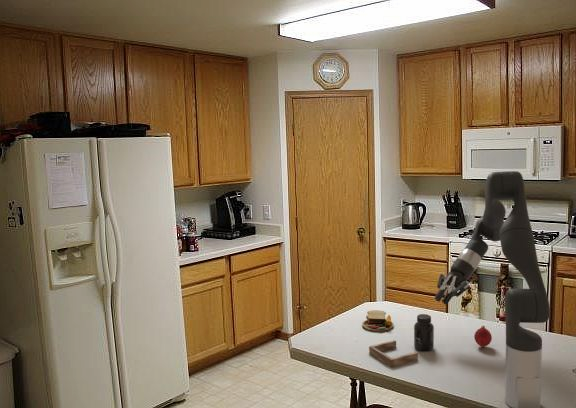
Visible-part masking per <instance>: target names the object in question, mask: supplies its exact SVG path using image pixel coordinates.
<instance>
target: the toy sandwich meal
mask: <svg viewBox="0 0 576 408" xmlns="http://www.w3.org/2000/svg"><path fill="white" fill-rule="evenodd" d="M386 313H387V312H386V311H383V310H374V309H373V310H372V309H371V310H367V313H366V314H367V315H366V317H365V319H366V320H364V321H363V322H362V323H361V325H362V327H363V328H364V329H366V330H367V331H371V332H386V331H390V330H391V329H392V328H394V326H395V325H394V322H392V317H391V315H390V314H388V315H387V317H386Z"/></svg>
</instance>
